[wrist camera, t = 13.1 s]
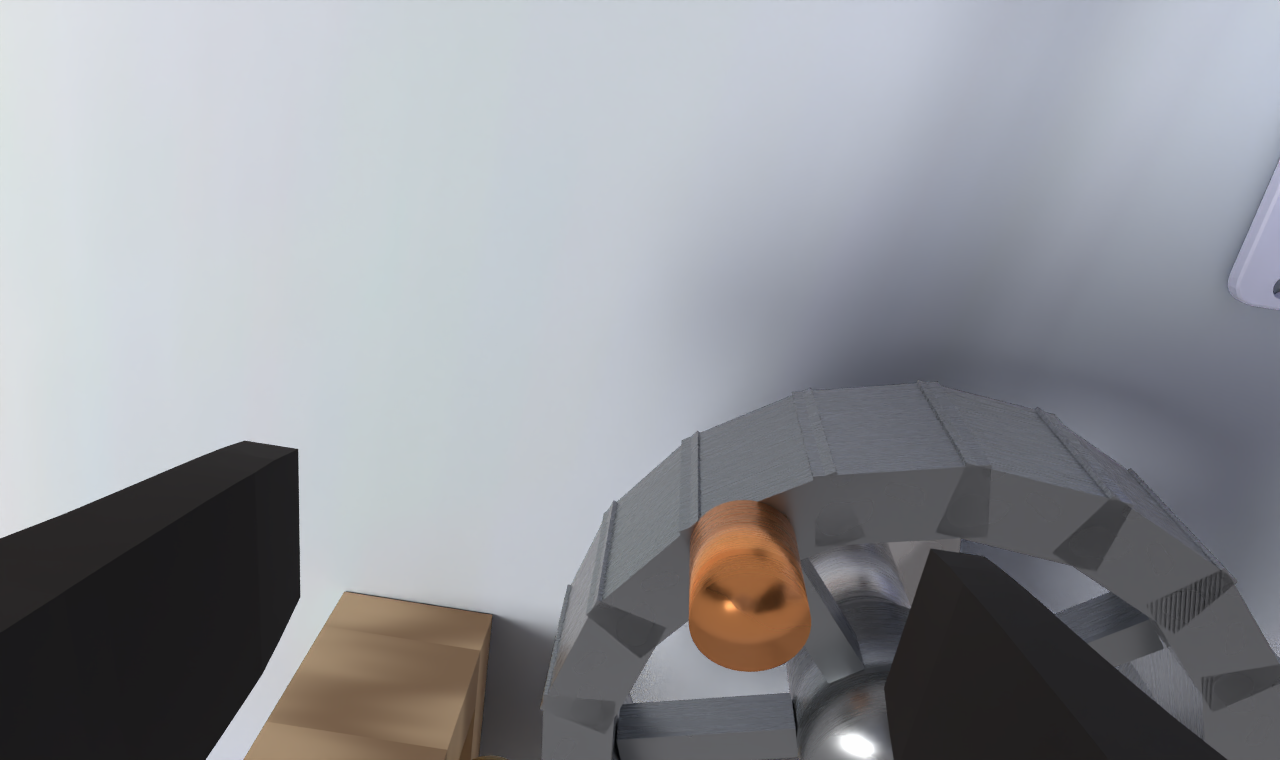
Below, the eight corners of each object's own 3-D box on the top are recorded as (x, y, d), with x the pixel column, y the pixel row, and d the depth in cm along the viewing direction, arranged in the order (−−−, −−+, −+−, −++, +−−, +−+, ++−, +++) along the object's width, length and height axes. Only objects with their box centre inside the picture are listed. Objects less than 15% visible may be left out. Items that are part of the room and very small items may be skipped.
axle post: (989, 451, 20) (1061, 560, 16) (919, 651, 23) (967, 788, 19) (737, 412, 20) (747, 511, 16) (694, 615, 23) (694, 746, 19)
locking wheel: (1070, 866, 19) (1179, 1119, 15) (526, 741, 19) (476, 964, 15) (1323, 479, 15) (1574, 668, 11) (640, 306, 15) (616, 431, 10)
